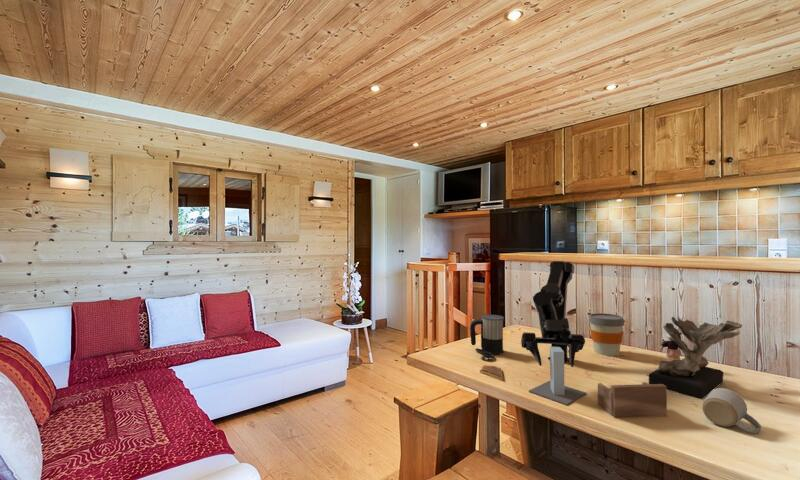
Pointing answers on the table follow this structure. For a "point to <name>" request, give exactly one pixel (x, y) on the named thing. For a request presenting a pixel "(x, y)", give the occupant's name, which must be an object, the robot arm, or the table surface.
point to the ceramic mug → (728, 410)
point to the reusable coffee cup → (606, 333)
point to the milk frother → (489, 335)
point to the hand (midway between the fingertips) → (556, 366)
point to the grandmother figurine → (671, 349)
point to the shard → (492, 372)
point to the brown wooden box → (634, 400)
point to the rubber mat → (565, 399)
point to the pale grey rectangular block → (557, 370)
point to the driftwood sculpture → (693, 358)
